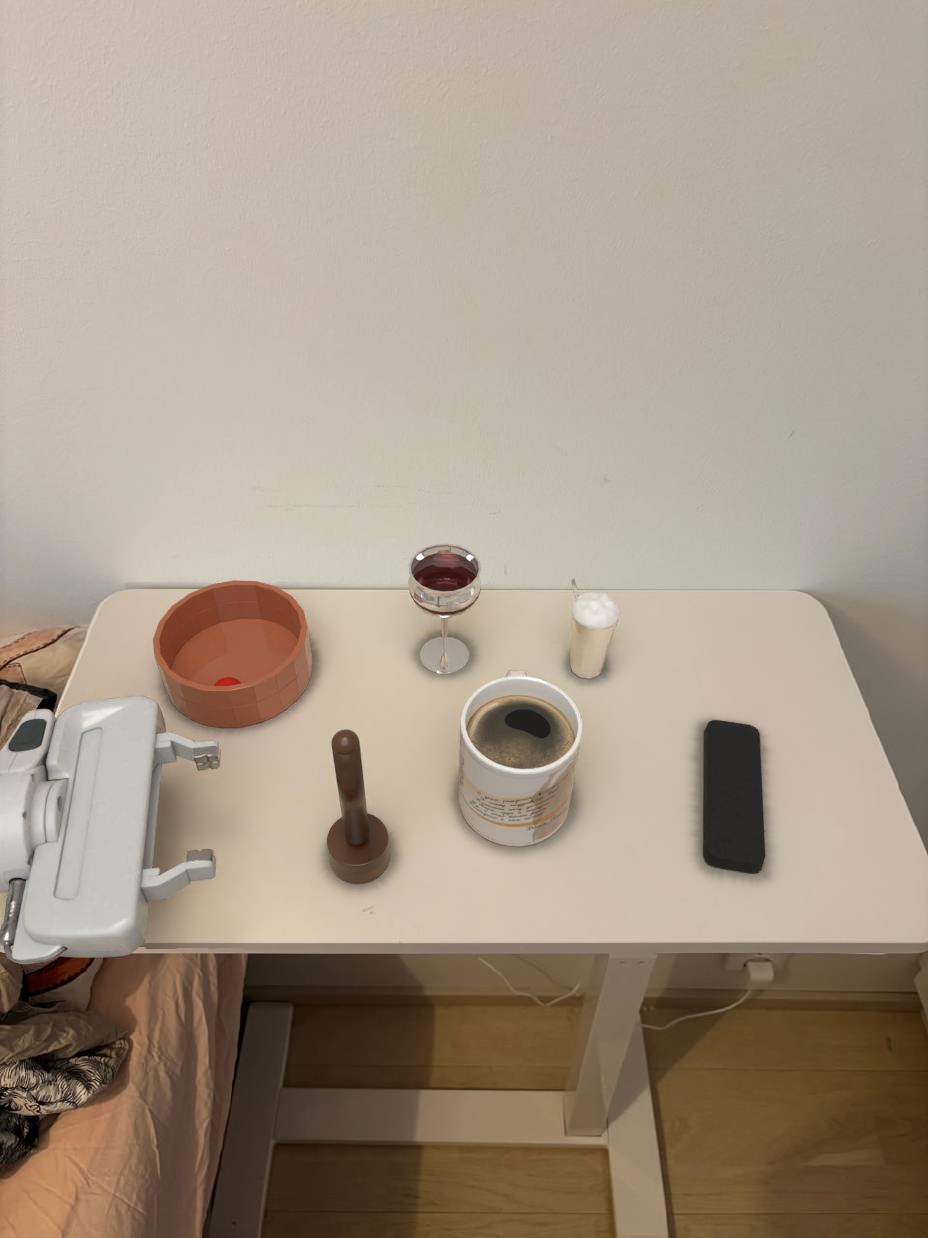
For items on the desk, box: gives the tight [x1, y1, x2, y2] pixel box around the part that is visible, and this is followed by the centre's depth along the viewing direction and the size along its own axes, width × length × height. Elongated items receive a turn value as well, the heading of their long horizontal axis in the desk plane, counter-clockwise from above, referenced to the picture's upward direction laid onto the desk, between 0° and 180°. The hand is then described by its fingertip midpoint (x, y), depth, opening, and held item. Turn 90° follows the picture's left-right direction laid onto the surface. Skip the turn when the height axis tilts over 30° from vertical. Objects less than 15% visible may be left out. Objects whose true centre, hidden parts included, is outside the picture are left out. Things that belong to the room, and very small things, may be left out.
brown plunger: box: [326, 728, 391, 885], centre depth 72 cm, size 5×5×17 cm
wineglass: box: [408, 543, 482, 675], centre depth 90 cm, size 7×7×12 cm
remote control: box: [702, 719, 766, 874], centre depth 82 cm, size 5×2×15 cm
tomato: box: [214, 677, 241, 686], centre depth 87 cm, size 3×3×3 cm
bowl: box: [152, 579, 313, 729], centre depth 90 cm, size 14×14×6 cm
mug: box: [458, 669, 584, 847], centre depth 79 cm, size 10×12×11 cm
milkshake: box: [569, 578, 621, 680], centre depth 90 cm, size 5×5×10 cm
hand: (217, 806), depth 69 cm, fingers open, 8 cm apart
